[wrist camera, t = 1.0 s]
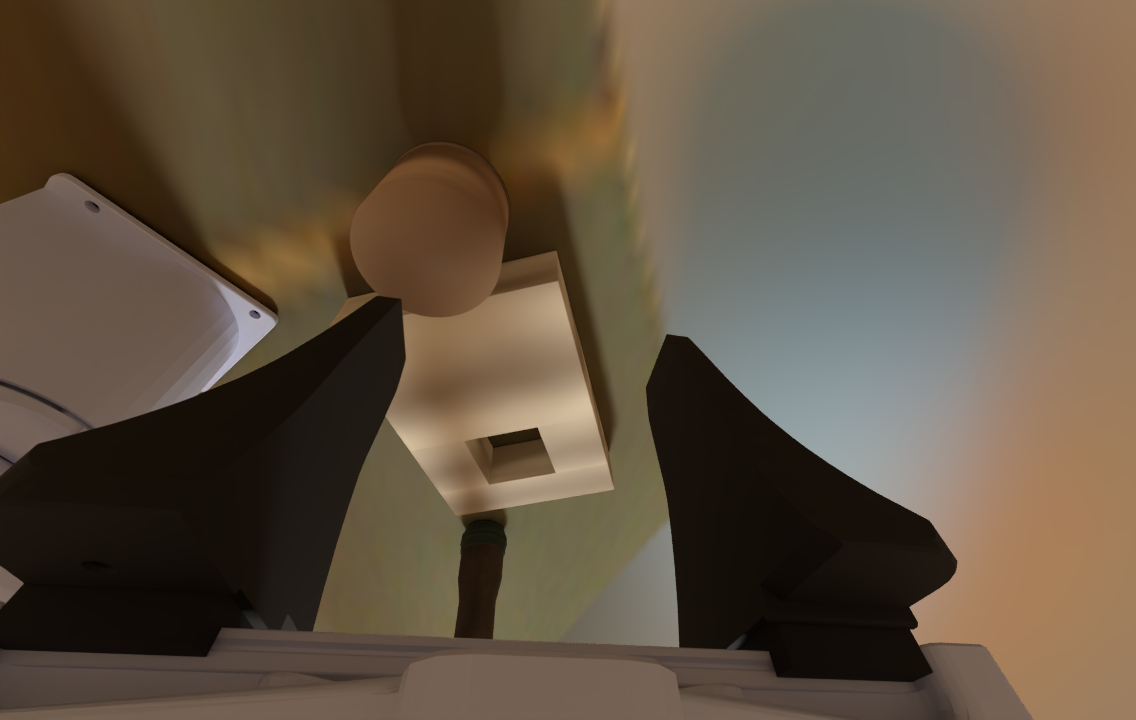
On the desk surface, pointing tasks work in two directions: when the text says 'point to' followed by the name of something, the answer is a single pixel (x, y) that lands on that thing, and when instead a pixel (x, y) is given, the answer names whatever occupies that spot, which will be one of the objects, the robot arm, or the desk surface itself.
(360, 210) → the peg
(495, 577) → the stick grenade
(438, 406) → the board
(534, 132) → the desk surface
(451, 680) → the robot arm
